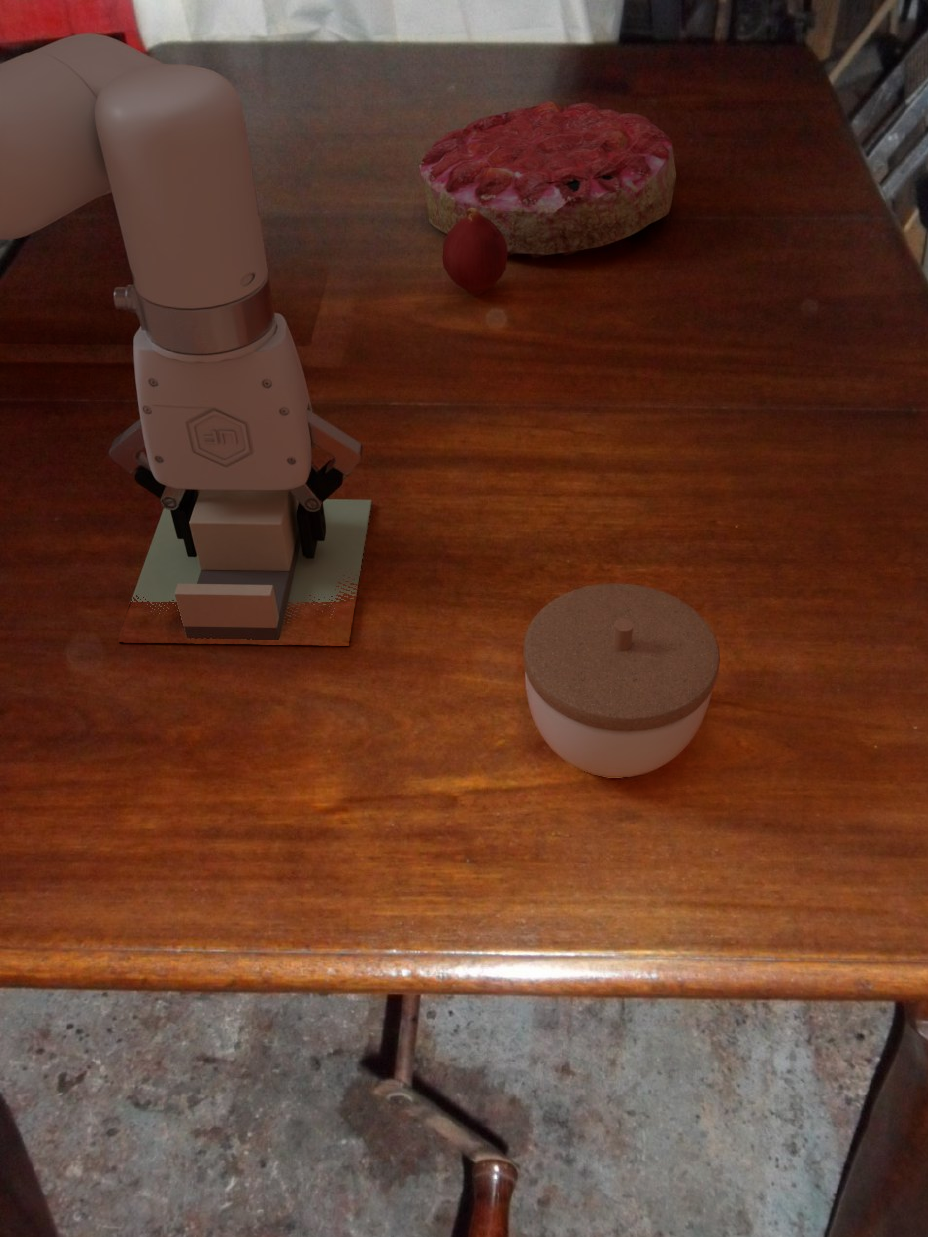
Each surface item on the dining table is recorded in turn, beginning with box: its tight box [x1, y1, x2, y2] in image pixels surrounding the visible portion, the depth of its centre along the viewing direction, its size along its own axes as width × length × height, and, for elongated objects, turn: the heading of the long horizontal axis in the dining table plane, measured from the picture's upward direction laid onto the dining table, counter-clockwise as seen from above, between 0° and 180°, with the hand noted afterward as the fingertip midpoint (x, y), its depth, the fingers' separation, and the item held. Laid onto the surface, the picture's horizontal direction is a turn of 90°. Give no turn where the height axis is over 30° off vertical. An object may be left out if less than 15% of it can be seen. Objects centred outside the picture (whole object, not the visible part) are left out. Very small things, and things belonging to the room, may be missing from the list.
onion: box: [441, 208, 508, 296], centre depth 103 cm, size 6×6×8 cm
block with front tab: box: [175, 490, 301, 640], centre depth 77 cm, size 15×6×5 cm, turn 178°
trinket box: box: [522, 582, 721, 778], centre depth 65 cm, size 11×11×9 cm
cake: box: [418, 101, 677, 259], centre depth 114 cm, size 25×25×8 cm
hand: (254, 543), depth 80 cm, fingers open, 7 cm apart
